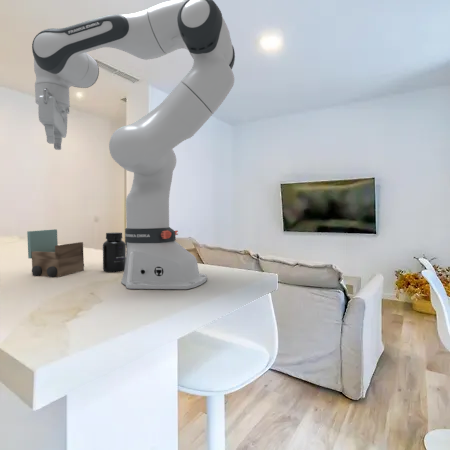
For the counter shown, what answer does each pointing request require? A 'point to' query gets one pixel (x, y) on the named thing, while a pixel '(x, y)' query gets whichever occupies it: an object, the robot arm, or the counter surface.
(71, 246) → the cart
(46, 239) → the panel
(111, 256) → the supplement bottle
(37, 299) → the counter surface
